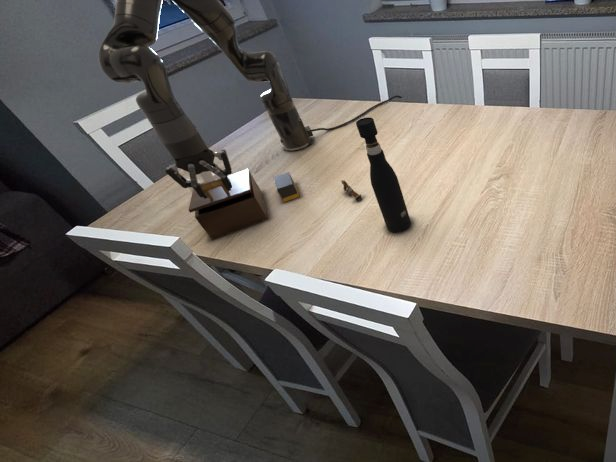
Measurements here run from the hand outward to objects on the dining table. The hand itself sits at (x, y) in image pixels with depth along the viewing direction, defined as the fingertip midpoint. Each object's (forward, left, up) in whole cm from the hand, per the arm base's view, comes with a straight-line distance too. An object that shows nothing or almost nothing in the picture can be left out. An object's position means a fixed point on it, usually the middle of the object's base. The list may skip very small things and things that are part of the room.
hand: (218, 192), depth 106 cm
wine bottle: (-38, +28, -12) cm, 49 cm away
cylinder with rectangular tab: (+7, -27, -12) cm, 30 cm away
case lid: (0, -6, -3) cm, 7 cm away
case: (0, -7, -12) cm, 13 cm away
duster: (-15, -9, -12) cm, 21 cm away
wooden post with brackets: (-31, +6, -12) cm, 34 cm away
